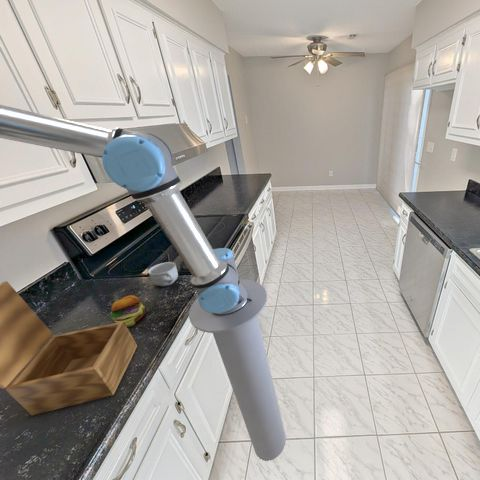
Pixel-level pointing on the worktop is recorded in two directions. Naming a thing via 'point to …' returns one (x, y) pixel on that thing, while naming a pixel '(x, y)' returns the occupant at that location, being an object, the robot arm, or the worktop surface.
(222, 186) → the worktop surface
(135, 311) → the cheeseburger
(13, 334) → the lid
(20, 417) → the worktop surface
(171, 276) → the teacup
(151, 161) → the robot arm
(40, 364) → the chest
